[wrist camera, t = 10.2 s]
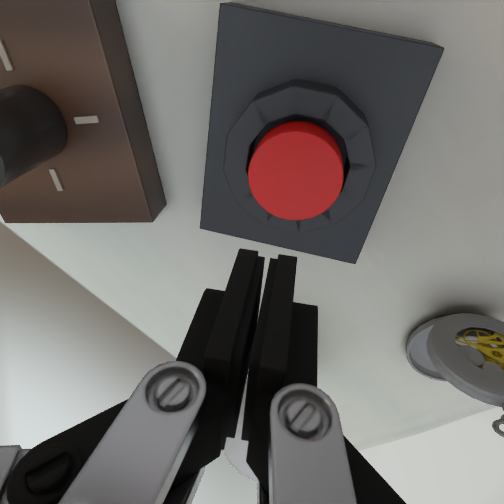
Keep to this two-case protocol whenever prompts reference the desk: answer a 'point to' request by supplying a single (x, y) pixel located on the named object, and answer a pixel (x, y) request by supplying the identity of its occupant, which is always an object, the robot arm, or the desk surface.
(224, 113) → the switch box
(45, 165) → the dimmer panel
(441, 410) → the desk surface
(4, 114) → the dimmer knob
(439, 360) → the pocket watch
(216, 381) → the robot arm
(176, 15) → the desk surface
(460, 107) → the desk surface
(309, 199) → the light button
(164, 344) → the desk surface
